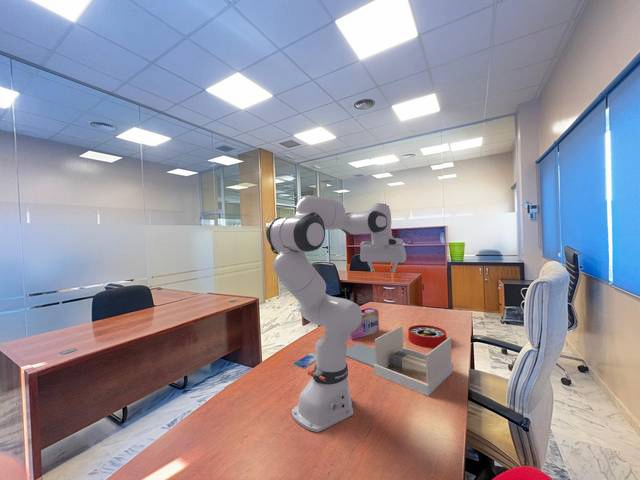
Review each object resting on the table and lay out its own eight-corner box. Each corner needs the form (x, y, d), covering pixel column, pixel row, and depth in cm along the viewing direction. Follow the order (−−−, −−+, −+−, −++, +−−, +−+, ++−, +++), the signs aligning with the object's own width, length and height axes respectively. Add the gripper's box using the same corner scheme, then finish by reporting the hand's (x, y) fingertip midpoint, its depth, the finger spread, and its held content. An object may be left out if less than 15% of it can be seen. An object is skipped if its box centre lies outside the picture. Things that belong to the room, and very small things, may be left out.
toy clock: (413, 337, 141) (404, 324, 161) (413, 348, 141) (405, 334, 161) (452, 337, 139) (438, 324, 159) (452, 348, 140) (439, 334, 159)
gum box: (350, 340, 154) (349, 317, 154) (341, 336, 160) (341, 314, 160) (379, 331, 167) (378, 310, 167) (370, 328, 174) (369, 307, 173)
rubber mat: (377, 369, 120) (377, 367, 120) (338, 353, 137) (338, 352, 137) (396, 357, 131) (396, 356, 131) (357, 344, 148) (357, 343, 148)
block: (430, 383, 107) (430, 368, 107) (391, 368, 120) (390, 355, 120) (437, 377, 112) (436, 363, 112) (398, 363, 125) (398, 350, 125)
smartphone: (322, 355, 135) (303, 368, 122) (322, 357, 135) (303, 370, 122) (311, 352, 139) (292, 363, 127) (311, 353, 139) (292, 365, 127)
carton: (427, 396, 99) (426, 356, 99) (374, 373, 116) (373, 339, 116) (453, 371, 116) (452, 337, 116) (402, 354, 133) (402, 325, 133)
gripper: (357, 241, 120) (358, 272, 120) (402, 240, 108) (403, 274, 109) (363, 241, 125) (364, 270, 125) (406, 240, 114) (407, 272, 114)
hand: (382, 272), depth 117 cm, fingers open, 8 cm apart
